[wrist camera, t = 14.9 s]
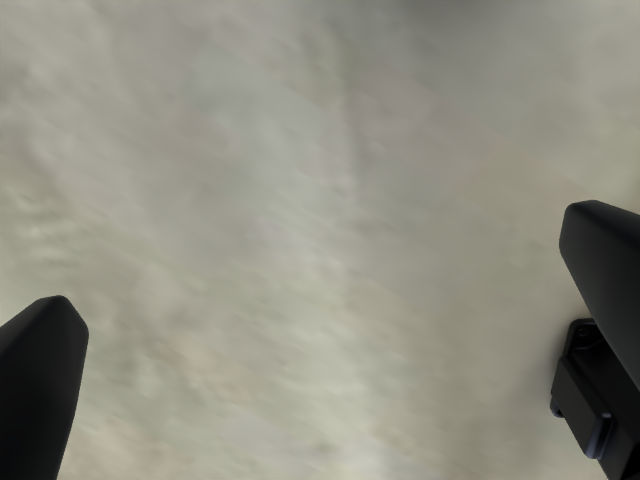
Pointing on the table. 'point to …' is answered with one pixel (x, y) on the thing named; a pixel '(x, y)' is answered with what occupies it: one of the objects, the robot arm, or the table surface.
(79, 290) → the table surface
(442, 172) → the table surface
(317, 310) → the table surface
